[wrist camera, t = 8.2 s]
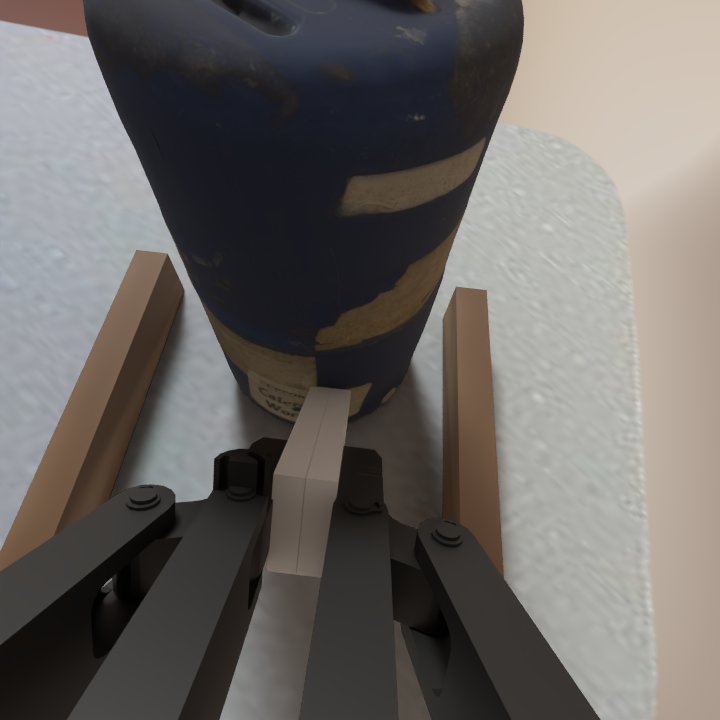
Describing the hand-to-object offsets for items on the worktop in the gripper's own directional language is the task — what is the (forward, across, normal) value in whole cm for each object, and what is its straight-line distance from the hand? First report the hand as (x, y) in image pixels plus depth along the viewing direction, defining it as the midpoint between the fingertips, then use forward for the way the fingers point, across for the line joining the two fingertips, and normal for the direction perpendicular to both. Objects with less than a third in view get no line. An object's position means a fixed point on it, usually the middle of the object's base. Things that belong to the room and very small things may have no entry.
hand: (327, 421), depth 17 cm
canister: (+8, -1, 0) cm, 8 cm away
